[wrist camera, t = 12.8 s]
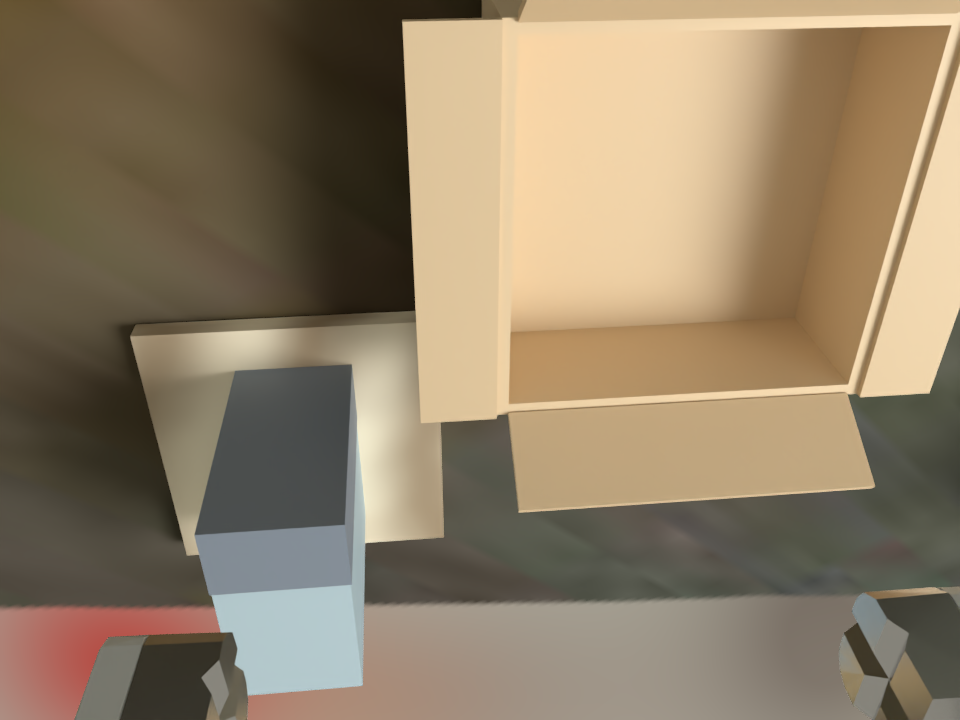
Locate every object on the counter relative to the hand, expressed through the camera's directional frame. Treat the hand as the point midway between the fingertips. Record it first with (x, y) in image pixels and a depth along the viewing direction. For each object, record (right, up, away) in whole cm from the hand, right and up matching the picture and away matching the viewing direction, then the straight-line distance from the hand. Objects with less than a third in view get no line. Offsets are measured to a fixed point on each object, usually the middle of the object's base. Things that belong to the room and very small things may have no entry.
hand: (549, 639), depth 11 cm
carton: (+7, +11, +24) cm, 28 cm away
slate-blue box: (-9, 0, +29) cm, 31 cm away
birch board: (-9, 0, +30) cm, 31 cm away
